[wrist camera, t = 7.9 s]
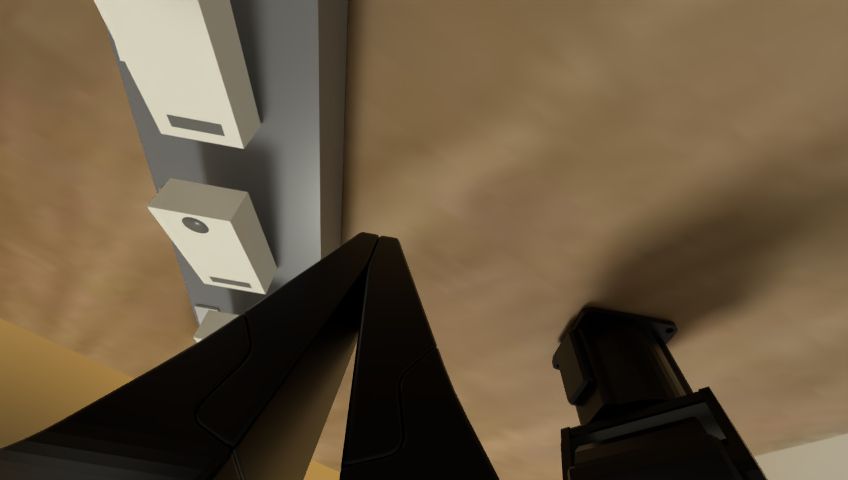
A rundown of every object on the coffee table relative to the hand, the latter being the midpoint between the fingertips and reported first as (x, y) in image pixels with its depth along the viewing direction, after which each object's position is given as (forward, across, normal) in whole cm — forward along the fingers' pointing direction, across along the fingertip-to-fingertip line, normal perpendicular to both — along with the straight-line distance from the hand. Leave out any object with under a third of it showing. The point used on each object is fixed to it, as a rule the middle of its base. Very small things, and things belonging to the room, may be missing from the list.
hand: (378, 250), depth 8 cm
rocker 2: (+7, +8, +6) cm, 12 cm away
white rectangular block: (+7, +8, -2) cm, 11 cm away
